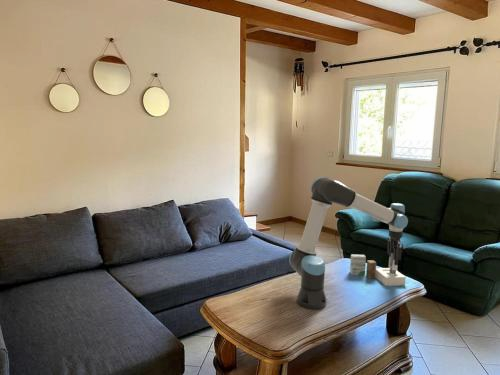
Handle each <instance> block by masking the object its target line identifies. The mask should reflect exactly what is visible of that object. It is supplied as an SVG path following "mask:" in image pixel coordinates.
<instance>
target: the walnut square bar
mask: <svg viewBox="0 0 500 375" xmlns="http://www.w3.org/2000/svg"><path fill="white" fill-rule="evenodd" d="M376 268H377V262H376V261H375V260H374V259H372V260H371V259H370V260H367V259H366V269H365V276H366V277H367V279H376V277H375V274H376Z"/></svg>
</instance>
